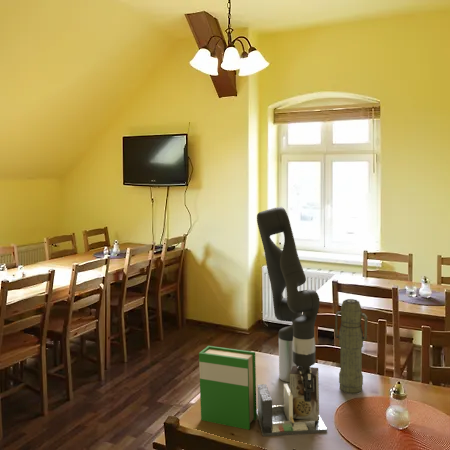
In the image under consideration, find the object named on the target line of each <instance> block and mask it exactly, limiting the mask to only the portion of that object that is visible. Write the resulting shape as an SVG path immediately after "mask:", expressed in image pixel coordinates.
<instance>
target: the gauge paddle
mask: <svg viewBox="0 0 450 450" xmlns="http://www.w3.org/2000/svg"><path fill="white" fill-rule="evenodd" d="M283 405H284V413H285V415H286V418H287V420H288V421H292V427H294V420H293V395H292V393H291V391H290V386H289V385H288V383H283Z"/></svg>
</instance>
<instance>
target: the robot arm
mask: <svg viewBox="0 0 450 450" xmlns="http://www.w3.org/2000/svg"><path fill="white" fill-rule="evenodd" d="M256 222H257V227H258V231H259V235H260V239H261V243H262V245H263V251H264V257H265V264H266V268H267V274H268V278H269V284H270V288H271V294H272V305H273V312H274V316H275V318H276V319H277V320H278V321H281V322H289V323H292V324H291V325H288V326H285V327H282V328H280V329H279V331H278V374H279V375H278V378H279V379H280V380H281V381H283V382H285V383H290V372H291V369H292V367H293V366H299V367H297V369H298V370H299V373H300V374H303V377H305V381H304V380H303V377H302V376H301V383H302V384H303V387H304V401H305V402H310V401H311V391H313V373H312V372H311V369H310V367H311V366H312V367H313V365H315V364H316V340H315V339H316V337H315V324H316V321H317V316H318V313H319V309H320V296H319V294H318V293H317V291H315V290H314V289H305V290H298V288H299V287H301V286H302V285H304V284H305V283H306V282H307V277H306V274H305V271H304V269H303V266H302V263H301V261H300V257H299V254H298V250H297V245H296V242H295V241H296V240H295V238H294V233H293V231H292V230H293V229H292V225H291V222H290V219H289V214H288V213H287V211H286V209H285V208H284V206H278V207H277V206H276V207H273V208H270V209H265V210H263V211H259V212H258V213H257V215H256ZM280 233H283V238H284V239H283V240H284V242H283V247H282V249H281V248H280V247H279V246H277V244H276V243H275V242H274V241H273V240H272V239H271V236H274V235H277V234H280ZM285 289H286V297H284V296H283V293H284V291H285ZM307 385H309V387H307Z"/></svg>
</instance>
